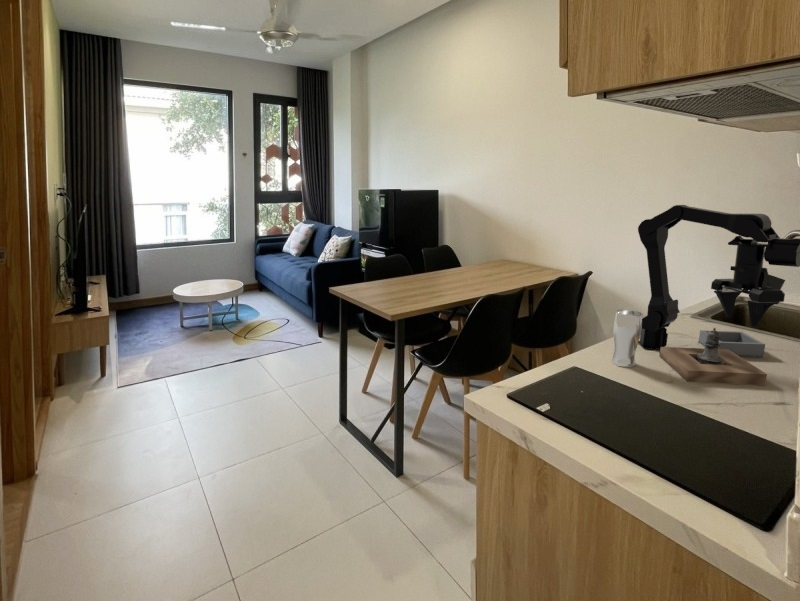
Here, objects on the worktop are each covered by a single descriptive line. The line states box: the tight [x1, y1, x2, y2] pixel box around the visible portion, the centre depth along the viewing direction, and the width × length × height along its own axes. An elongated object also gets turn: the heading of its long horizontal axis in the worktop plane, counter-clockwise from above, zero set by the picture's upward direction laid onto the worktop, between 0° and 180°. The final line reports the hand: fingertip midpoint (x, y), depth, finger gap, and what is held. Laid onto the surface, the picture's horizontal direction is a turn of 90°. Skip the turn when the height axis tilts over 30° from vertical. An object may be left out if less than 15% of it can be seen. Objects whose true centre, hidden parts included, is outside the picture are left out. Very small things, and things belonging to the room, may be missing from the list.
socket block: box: [658, 346, 768, 386], centre depth 123 cm, size 18×18×3 cm
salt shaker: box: [697, 327, 723, 365], centre depth 122 cm, size 6×6×12 cm
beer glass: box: [611, 308, 643, 368], centre depth 127 cm, size 7×7×15 cm
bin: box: [698, 329, 766, 358], centre depth 138 cm, size 12×12×4 cm
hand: (741, 321), depth 121 cm, fingers open, 9 cm apart
